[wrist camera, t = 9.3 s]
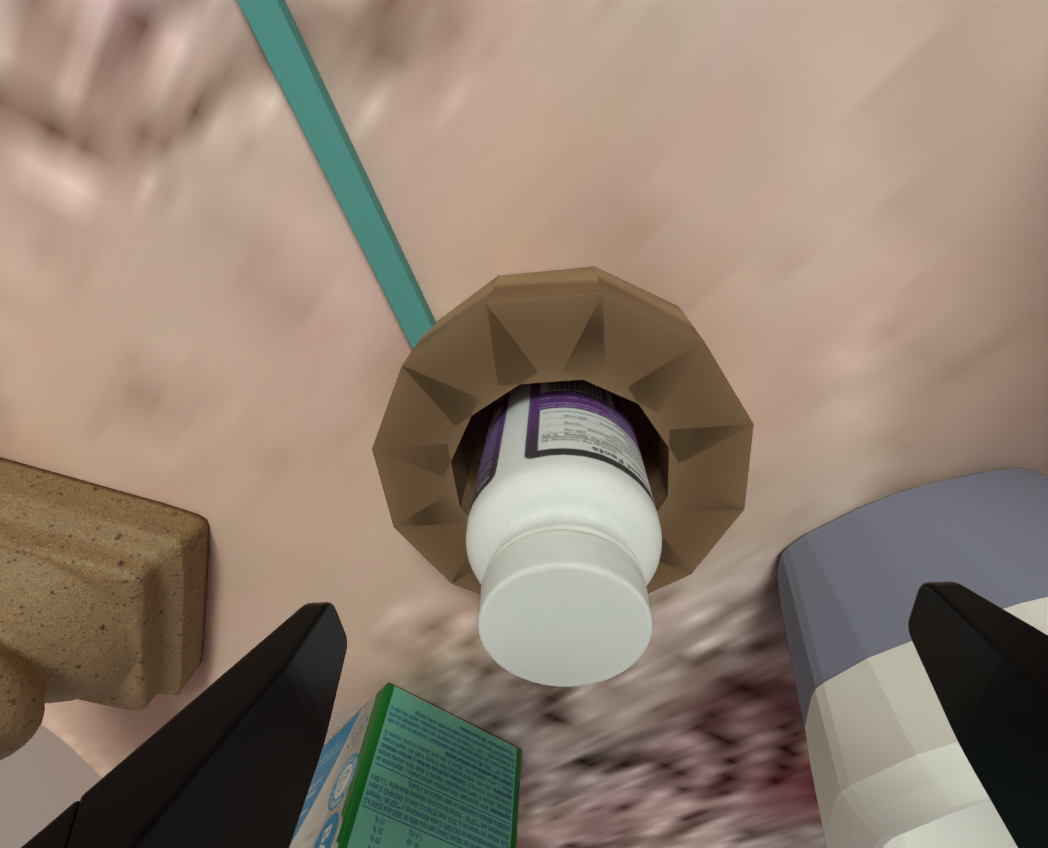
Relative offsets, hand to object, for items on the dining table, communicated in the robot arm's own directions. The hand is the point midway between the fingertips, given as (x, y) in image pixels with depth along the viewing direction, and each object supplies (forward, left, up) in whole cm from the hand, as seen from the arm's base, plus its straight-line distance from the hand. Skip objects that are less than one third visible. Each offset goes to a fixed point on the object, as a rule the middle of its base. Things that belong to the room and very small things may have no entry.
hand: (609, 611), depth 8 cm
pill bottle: (+1, +3, -12) cm, 13 cm away
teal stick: (+7, -7, -12) cm, 16 cm away
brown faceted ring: (+1, +3, -12) cm, 13 cm away
